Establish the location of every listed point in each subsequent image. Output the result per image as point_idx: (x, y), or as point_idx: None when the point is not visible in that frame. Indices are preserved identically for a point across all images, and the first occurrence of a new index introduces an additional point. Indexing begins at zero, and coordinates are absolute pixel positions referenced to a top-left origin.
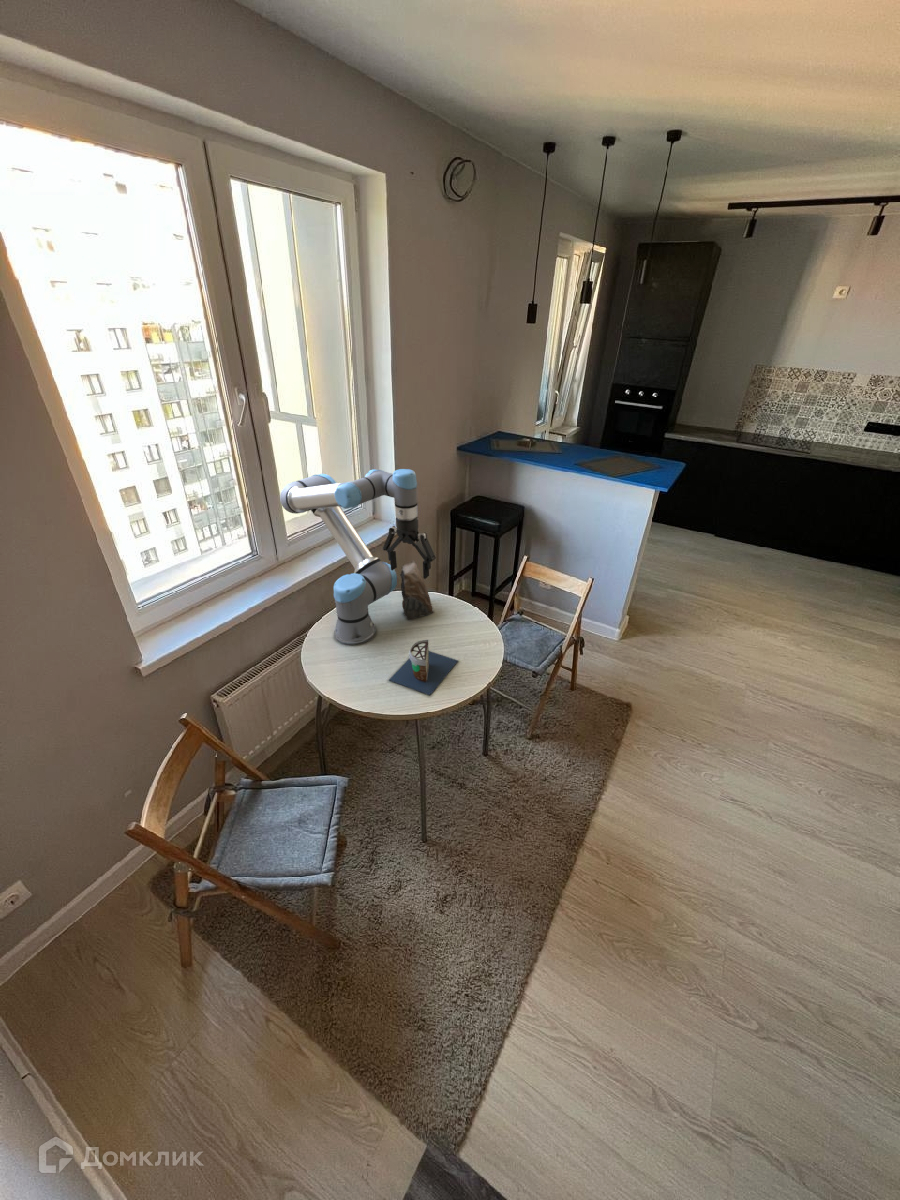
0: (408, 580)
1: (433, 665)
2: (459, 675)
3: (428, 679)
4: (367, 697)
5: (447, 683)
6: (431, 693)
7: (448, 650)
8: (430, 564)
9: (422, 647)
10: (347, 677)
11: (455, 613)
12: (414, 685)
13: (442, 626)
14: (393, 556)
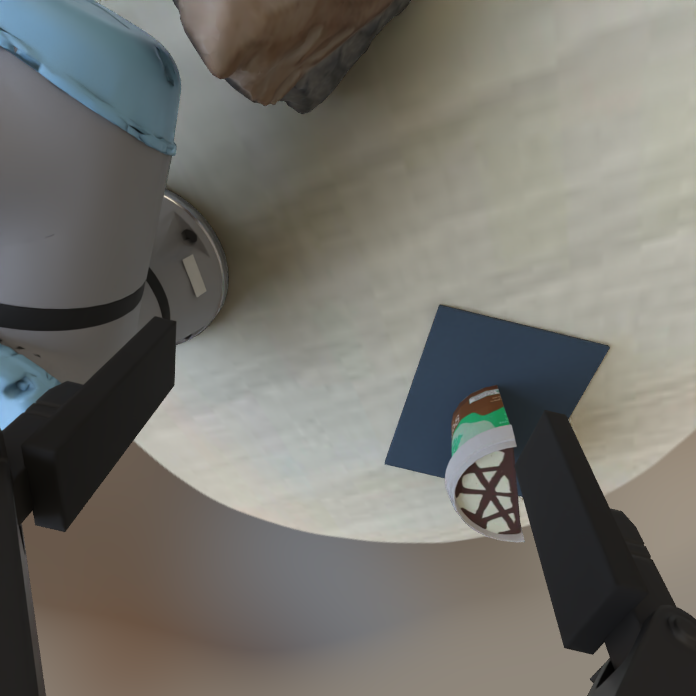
0: (263, 60)
1: (515, 387)
2: (614, 410)
3: None
4: (351, 517)
5: None
6: None
7: (564, 289)
8: (651, 569)
9: (495, 472)
10: (261, 466)
11: None
12: None
13: (516, 106)
14: (93, 461)
